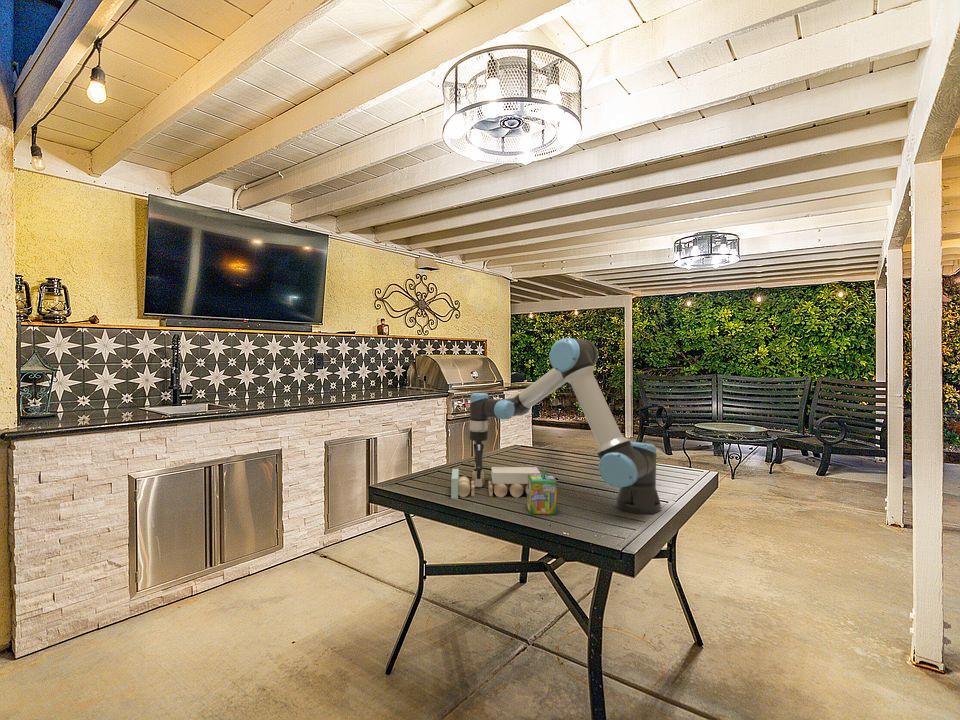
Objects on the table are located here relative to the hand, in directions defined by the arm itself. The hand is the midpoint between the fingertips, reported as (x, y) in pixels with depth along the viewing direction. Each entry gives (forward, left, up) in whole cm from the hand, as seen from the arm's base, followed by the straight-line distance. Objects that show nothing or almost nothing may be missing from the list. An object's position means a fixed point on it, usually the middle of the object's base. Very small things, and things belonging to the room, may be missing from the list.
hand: (478, 482), depth 203 cm
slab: (-14, -14, +5) cm, 20 cm away
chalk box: (-35, -21, -1) cm, 41 cm away
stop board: (-14, +9, 0) cm, 17 cm away
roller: (0, 0, -1) cm, 1 cm away
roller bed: (-14, -7, 0) cm, 16 cm away
